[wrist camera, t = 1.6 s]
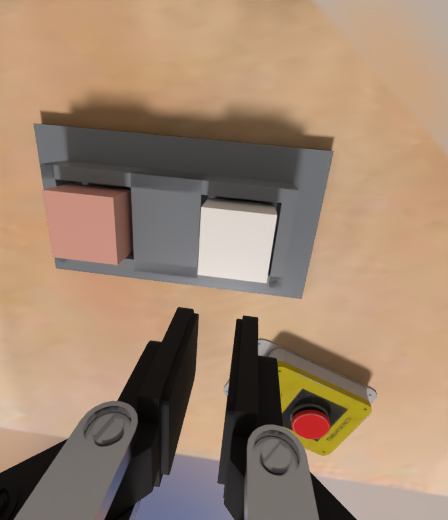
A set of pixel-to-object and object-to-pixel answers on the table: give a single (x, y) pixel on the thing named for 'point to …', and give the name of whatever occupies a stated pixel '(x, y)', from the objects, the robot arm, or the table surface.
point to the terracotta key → (89, 222)
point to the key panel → (191, 198)
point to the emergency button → (317, 400)
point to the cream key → (236, 239)
